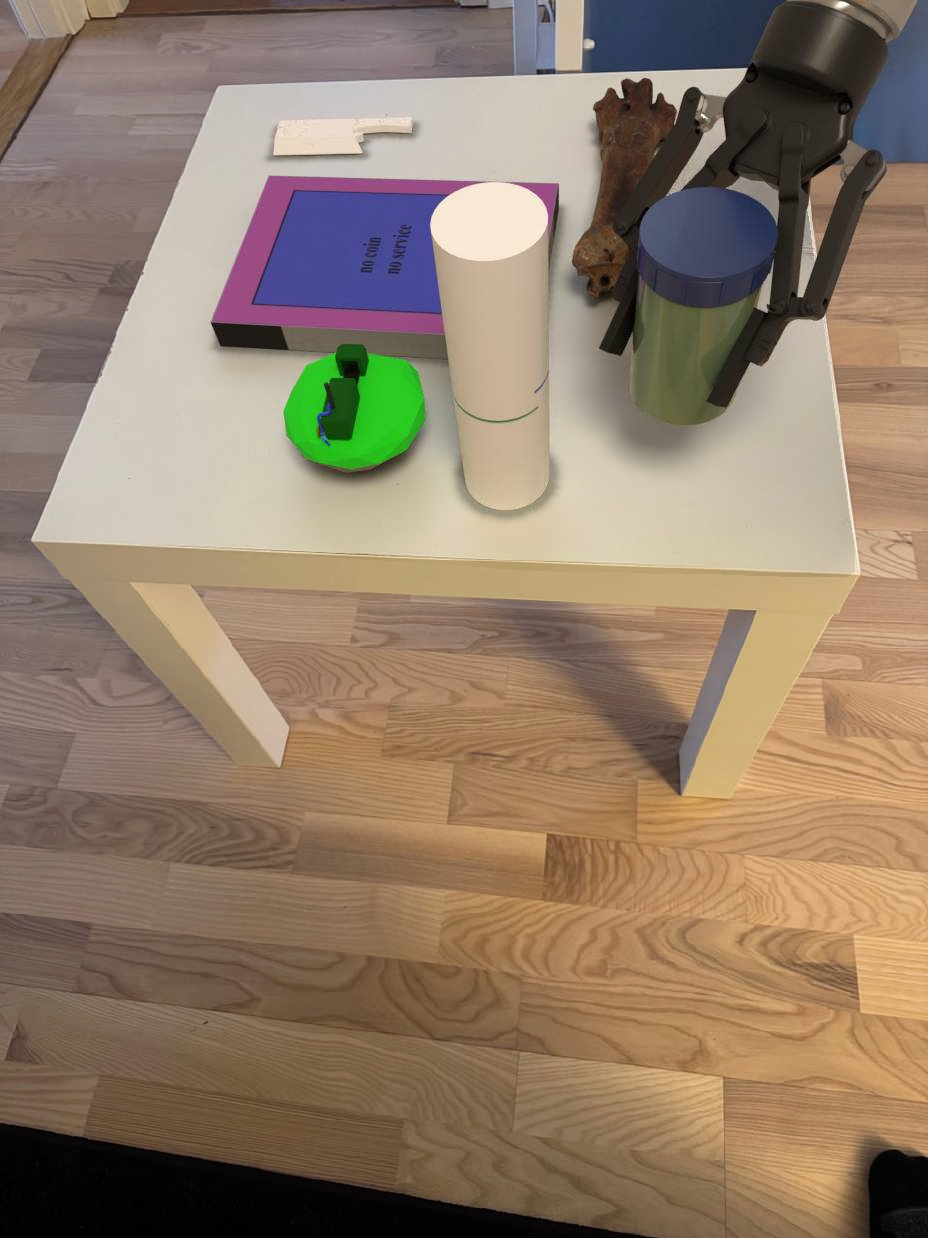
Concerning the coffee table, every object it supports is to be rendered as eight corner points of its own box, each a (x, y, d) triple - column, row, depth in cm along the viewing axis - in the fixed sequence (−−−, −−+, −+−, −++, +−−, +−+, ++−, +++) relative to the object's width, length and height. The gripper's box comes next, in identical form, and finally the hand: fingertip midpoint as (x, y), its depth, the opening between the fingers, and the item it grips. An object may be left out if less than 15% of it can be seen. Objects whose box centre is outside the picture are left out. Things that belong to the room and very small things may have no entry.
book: (532, 339, 81) (210, 322, 85) (533, 363, 83) (220, 346, 88) (558, 183, 90) (268, 175, 95) (558, 209, 93) (276, 200, 97)
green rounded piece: (422, 501, 77) (404, 412, 67) (287, 496, 78) (250, 408, 69) (440, 392, 83) (424, 295, 73) (313, 389, 84) (282, 294, 74)
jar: (757, 373, 69) (797, 223, 57) (699, 442, 66) (729, 299, 55) (666, 330, 71) (686, 180, 60) (607, 395, 69) (616, 250, 58)
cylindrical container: (565, 462, 78) (569, 202, 56) (521, 523, 75) (508, 275, 53) (493, 430, 80) (470, 169, 58) (448, 489, 77) (407, 238, 55)
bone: (682, 42, 92) (669, 230, 77) (681, 124, 99) (668, 312, 84) (593, 52, 94) (562, 237, 79) (598, 131, 101) (570, 315, 86)
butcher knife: (407, 153, 99) (406, 143, 98) (273, 156, 101) (271, 147, 100) (413, 123, 102) (411, 113, 101) (282, 126, 104) (279, 117, 103)
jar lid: (795, 247, 59) (803, 216, 57) (725, 326, 56) (731, 296, 54) (682, 201, 62) (686, 170, 60) (611, 274, 59) (612, 244, 57)
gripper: (1006, 96, 55) (807, 444, 64) (703, 3, 63) (563, 324, 71) (1005, 50, 49) (785, 443, 57) (668, -48, 56) (519, 312, 65)
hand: (662, 377), depth 64 cm, fingers closed on jar, 8 cm apart
